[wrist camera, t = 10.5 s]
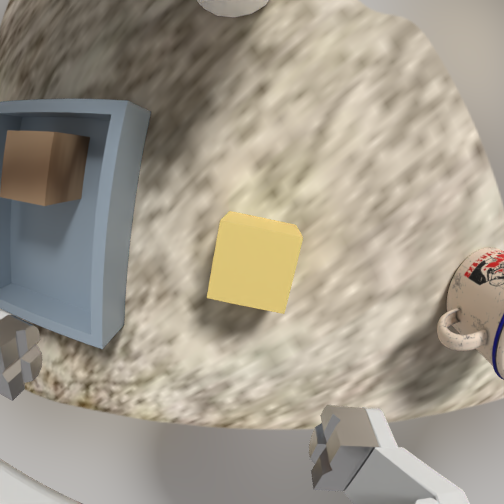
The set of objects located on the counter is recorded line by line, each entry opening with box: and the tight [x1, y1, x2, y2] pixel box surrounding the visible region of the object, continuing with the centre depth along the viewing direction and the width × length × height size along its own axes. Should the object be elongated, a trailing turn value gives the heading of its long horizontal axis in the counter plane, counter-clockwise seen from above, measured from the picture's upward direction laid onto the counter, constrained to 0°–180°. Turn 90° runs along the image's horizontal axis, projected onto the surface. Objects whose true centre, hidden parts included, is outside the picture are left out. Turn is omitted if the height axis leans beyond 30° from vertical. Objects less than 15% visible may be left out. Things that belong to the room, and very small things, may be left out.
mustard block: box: [207, 211, 303, 314], centre depth 22 cm, size 5×5×5 cm
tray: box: [0, 99, 151, 349], centre depth 22 cm, size 18×14×4 cm
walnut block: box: [0, 130, 90, 206], centre depth 20 cm, size 5×5×5 cm
